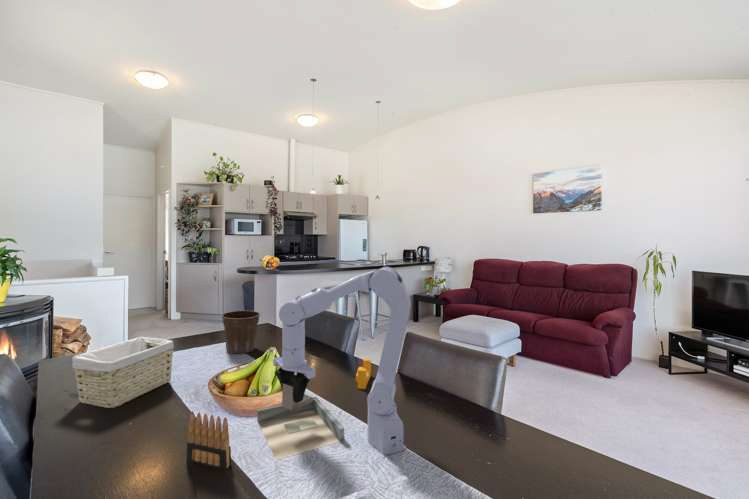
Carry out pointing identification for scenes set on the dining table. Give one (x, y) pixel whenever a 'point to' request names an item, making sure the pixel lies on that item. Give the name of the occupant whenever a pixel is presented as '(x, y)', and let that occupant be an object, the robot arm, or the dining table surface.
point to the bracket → (292, 397)
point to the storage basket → (122, 371)
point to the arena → (299, 428)
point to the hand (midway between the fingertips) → (293, 398)
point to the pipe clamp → (363, 374)
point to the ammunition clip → (208, 442)
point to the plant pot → (240, 330)
